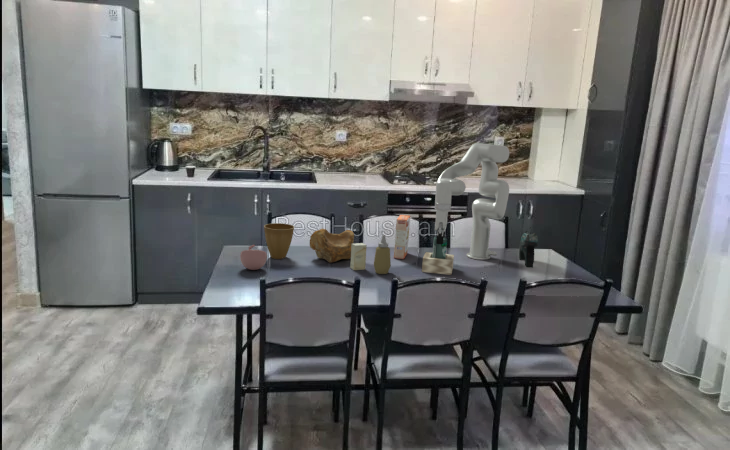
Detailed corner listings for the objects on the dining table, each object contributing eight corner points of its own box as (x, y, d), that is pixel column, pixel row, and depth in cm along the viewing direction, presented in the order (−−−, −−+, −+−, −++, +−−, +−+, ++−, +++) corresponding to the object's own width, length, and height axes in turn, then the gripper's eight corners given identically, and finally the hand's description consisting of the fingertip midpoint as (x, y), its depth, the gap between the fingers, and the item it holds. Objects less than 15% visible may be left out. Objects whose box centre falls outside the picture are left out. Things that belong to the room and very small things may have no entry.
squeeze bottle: (384, 276, 252) (387, 238, 248) (369, 272, 256) (371, 235, 252) (393, 272, 259) (395, 235, 255) (378, 269, 263) (380, 232, 259)
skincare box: (353, 270, 258) (355, 245, 256) (349, 268, 262) (350, 243, 260) (365, 269, 261) (367, 244, 259) (361, 266, 265) (362, 242, 262)
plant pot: (270, 262, 265) (270, 230, 261) (259, 254, 277) (259, 224, 274) (298, 259, 272) (299, 228, 269) (286, 252, 285) (287, 222, 281)
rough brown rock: (314, 266, 264) (317, 237, 260) (306, 255, 279) (309, 227, 275) (360, 266, 272) (363, 237, 268) (349, 254, 287) (352, 227, 283)
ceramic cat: (535, 268, 277) (540, 230, 273) (523, 268, 277) (527, 229, 273) (526, 258, 296) (530, 222, 292) (514, 257, 297) (518, 221, 292)
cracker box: (404, 259, 282) (407, 219, 277) (393, 258, 283) (395, 218, 279) (408, 253, 295) (410, 215, 291) (397, 252, 296) (399, 214, 292)
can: (445, 270, 264) (448, 239, 260) (433, 269, 263) (435, 239, 260) (442, 266, 269) (445, 236, 266) (430, 266, 269) (432, 236, 266)
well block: (452, 268, 270) (454, 254, 269) (451, 274, 259) (452, 261, 258) (424, 265, 273) (425, 252, 272) (421, 271, 262) (422, 258, 260)
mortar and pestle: (266, 265, 259) (267, 242, 257) (266, 273, 248) (267, 248, 245) (240, 265, 257) (240, 242, 255) (239, 273, 246) (239, 248, 243)
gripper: (436, 202, 269) (434, 236, 273) (433, 209, 252) (430, 245, 256) (451, 204, 267) (449, 237, 271) (449, 210, 251) (447, 246, 255)
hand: (440, 241), depth 264 cm, fingers open, 9 cm apart
